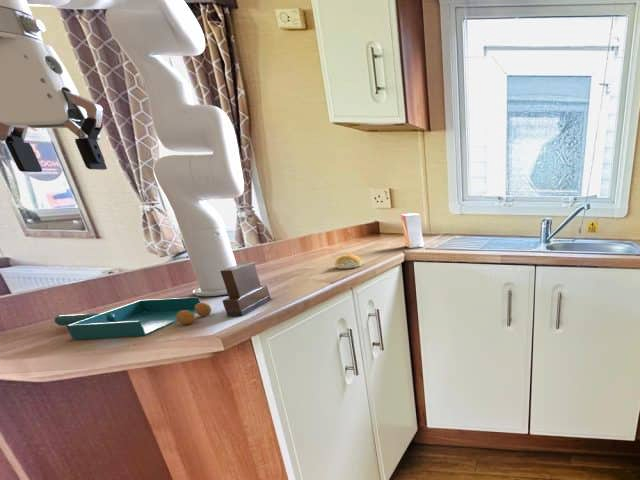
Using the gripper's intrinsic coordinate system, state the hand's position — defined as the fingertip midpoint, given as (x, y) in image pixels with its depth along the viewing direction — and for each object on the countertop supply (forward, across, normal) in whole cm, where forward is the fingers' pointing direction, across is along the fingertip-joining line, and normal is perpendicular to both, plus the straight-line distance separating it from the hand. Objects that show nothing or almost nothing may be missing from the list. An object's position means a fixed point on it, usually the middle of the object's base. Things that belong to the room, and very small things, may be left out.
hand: (64, 170), depth 65 cm
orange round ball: (+27, -4, -13) cm, 31 cm away
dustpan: (+27, +11, -10) cm, 31 cm away
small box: (+28, -35, -115) cm, 123 cm away
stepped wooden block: (+27, -11, -18) cm, 35 cm away
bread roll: (+28, -20, -68) cm, 76 cm away
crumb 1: (+27, -4, -7) cm, 28 cm away
